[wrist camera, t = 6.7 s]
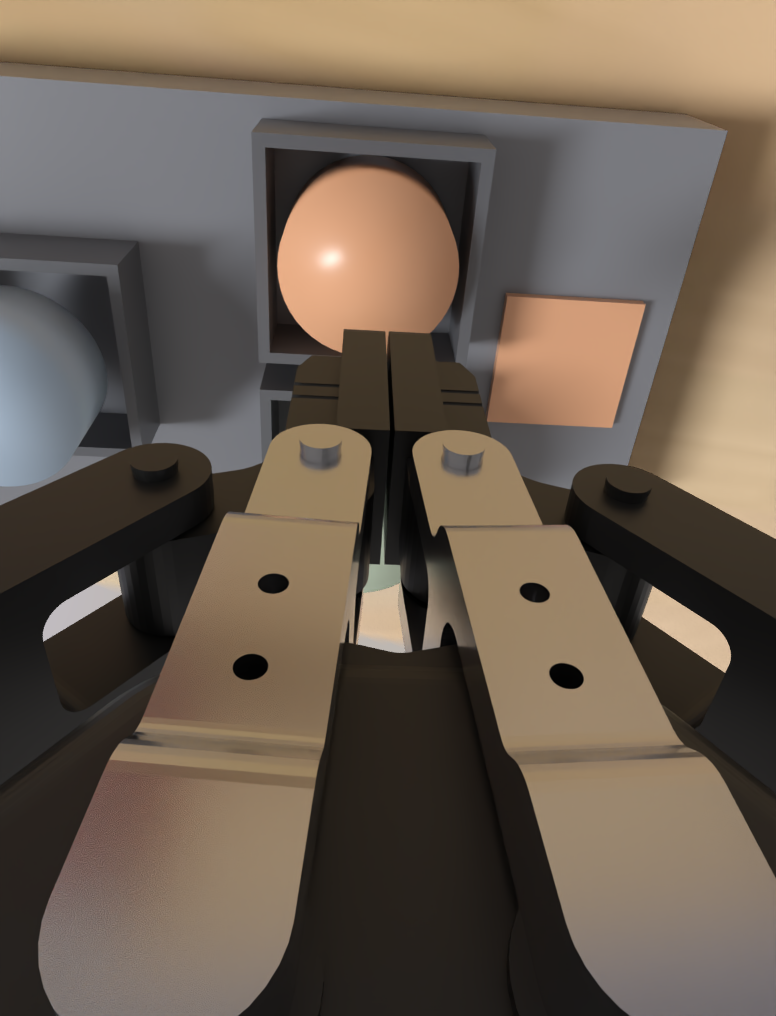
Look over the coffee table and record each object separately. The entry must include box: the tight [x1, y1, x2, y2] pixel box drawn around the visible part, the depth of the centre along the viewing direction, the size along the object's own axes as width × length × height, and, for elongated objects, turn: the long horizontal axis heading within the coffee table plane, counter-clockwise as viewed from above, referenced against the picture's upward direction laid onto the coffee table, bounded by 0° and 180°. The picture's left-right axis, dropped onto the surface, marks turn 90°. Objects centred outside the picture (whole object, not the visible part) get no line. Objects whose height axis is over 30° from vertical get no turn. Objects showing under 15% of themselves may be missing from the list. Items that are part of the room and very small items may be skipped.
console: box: [0, 62, 728, 505], centre depth 22 cm, size 22×13×5 cm, turn 86°
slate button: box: [0, 285, 108, 487], centre depth 19 cm, size 4×4×2 cm
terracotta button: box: [277, 155, 459, 354], centre depth 19 cm, size 4×4×2 cm
